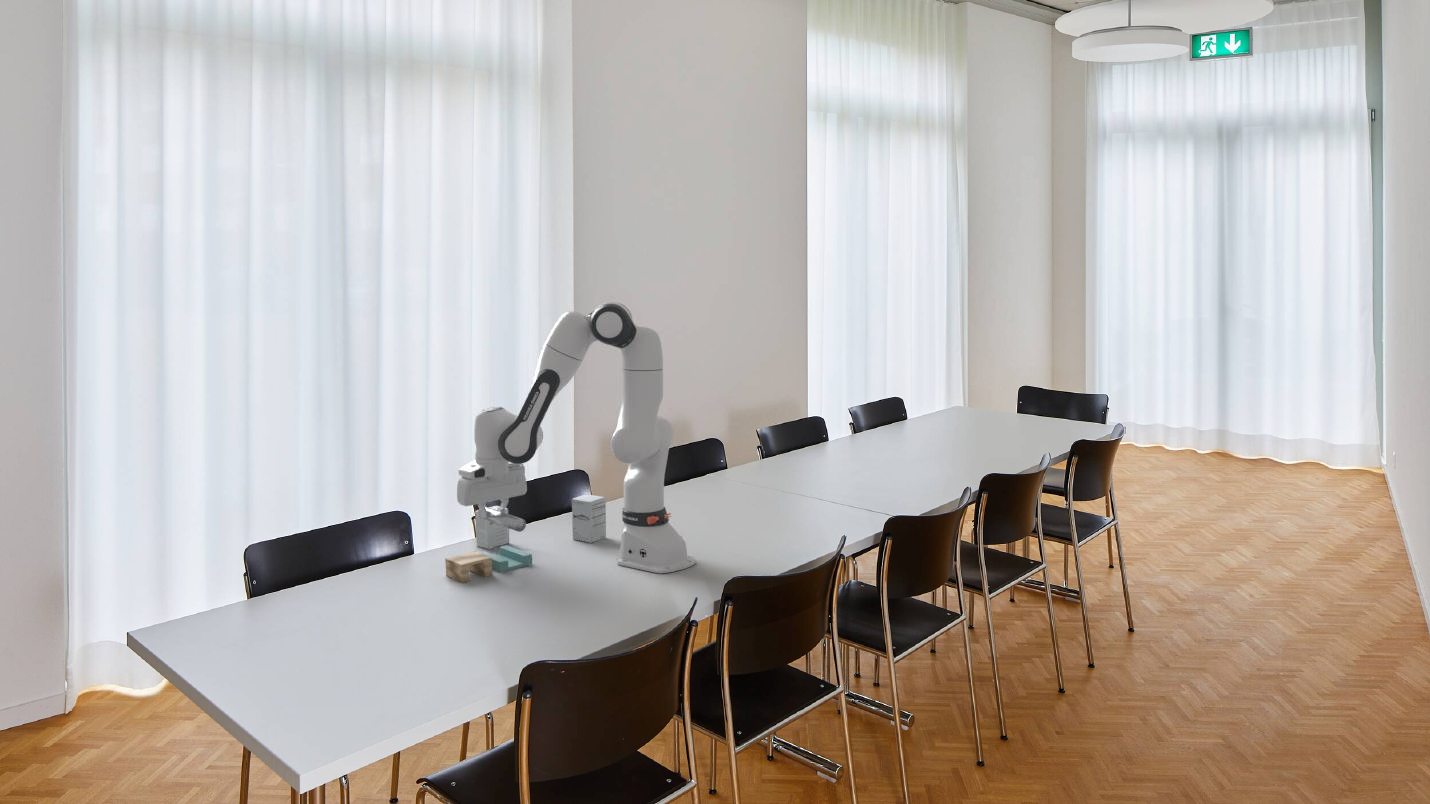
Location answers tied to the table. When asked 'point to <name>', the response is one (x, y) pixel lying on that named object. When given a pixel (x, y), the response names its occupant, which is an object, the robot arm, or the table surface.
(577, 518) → the supplement box
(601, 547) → the table surface
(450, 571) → the wooden bridge block
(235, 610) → the table surface
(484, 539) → the small box
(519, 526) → the axle
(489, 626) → the table surface
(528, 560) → the cradle
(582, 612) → the table surface
